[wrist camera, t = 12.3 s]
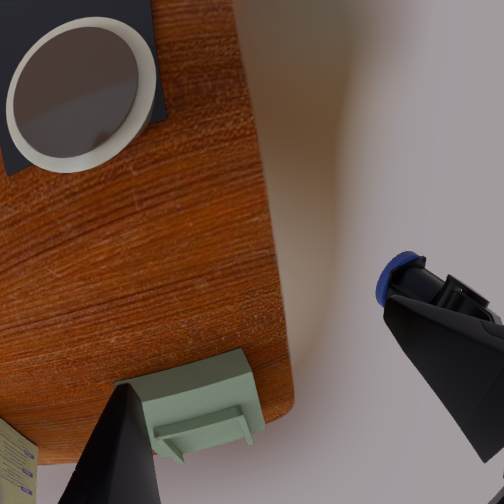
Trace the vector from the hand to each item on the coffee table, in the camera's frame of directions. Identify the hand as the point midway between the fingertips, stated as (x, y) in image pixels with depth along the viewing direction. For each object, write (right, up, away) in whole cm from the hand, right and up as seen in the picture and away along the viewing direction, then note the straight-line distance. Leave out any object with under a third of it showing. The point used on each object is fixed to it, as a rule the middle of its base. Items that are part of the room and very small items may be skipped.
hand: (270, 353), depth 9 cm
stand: (-6, -12, +17) cm, 22 cm away
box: (-32, -19, +11) cm, 38 cm away
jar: (-9, +11, +5) cm, 15 cm away
